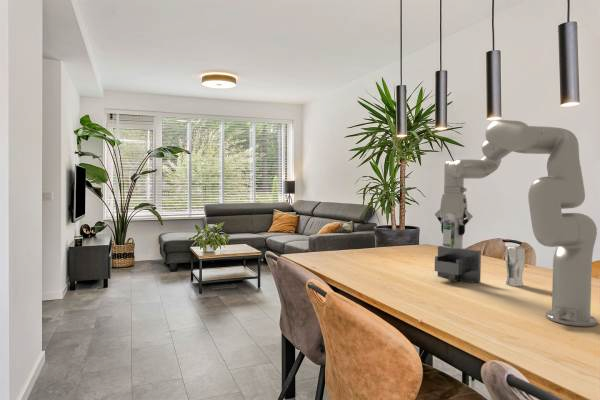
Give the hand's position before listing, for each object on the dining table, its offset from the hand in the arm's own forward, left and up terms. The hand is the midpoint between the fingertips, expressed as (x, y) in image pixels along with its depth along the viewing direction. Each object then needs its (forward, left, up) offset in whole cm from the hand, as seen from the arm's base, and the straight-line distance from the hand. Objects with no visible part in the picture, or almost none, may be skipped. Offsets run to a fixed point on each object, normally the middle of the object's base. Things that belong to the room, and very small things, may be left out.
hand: (452, 233), depth 171 cm
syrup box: (0, 0, -6) cm, 6 cm away
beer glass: (+12, -20, -20) cm, 31 cm away
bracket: (0, 0, -20) cm, 20 cm away
